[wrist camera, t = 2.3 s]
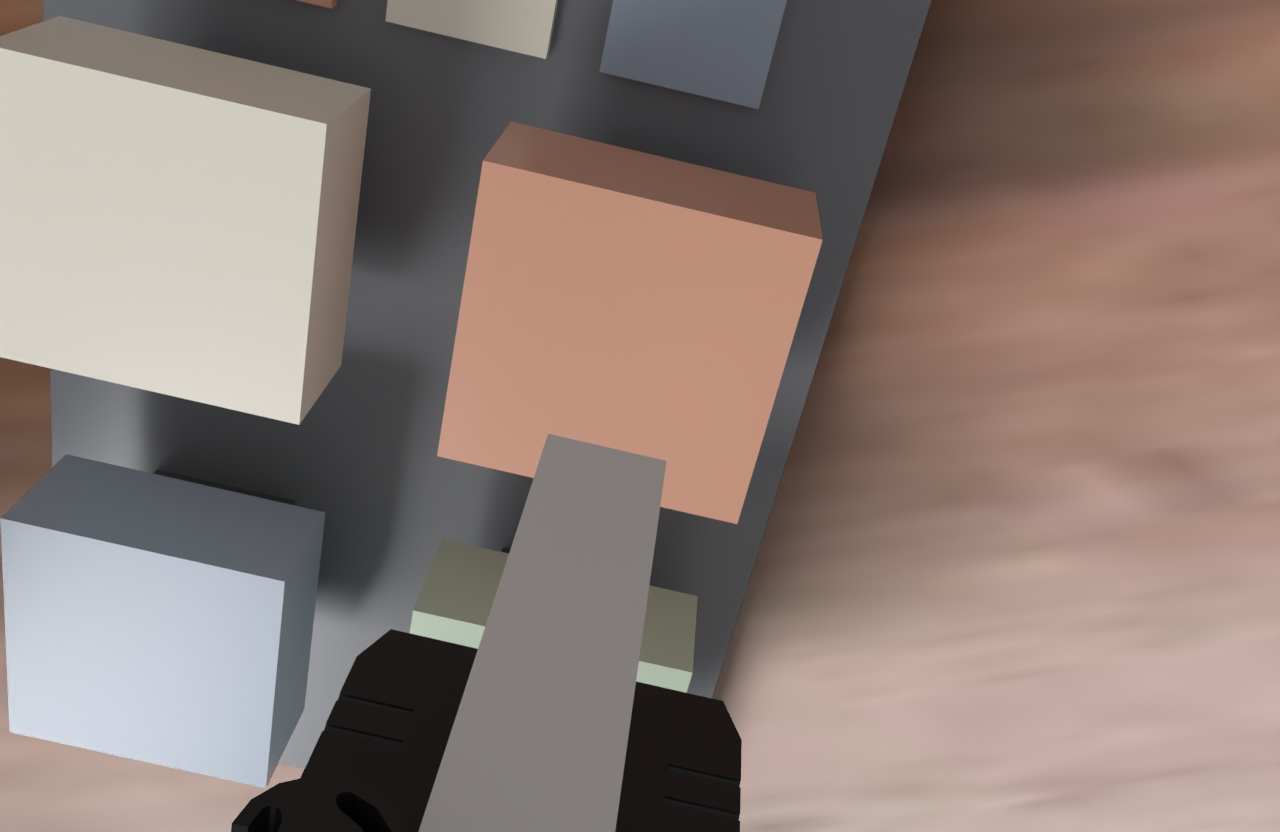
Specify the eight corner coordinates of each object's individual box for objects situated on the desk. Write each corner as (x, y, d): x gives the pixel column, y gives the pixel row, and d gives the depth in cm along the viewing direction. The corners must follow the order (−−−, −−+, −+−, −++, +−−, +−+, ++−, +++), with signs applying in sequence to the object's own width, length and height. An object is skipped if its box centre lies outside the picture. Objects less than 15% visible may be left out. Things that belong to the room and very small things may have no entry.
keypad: (75, 688, 32) (15, 770, 29) (67, -239, 22) (-28, -242, 19) (667, 818, 33) (659, 910, 30) (931, -32, 22) (955, -7, 20)
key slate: (68, 656, 28) (10, 732, 26) (66, 453, 25) (0, 518, 23) (304, 708, 28) (266, 788, 26) (325, 512, 25) (284, 581, 23)
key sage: (410, 732, 28) (381, 813, 26) (442, 538, 26) (412, 610, 23) (643, 783, 28) (633, 868, 26) (697, 596, 26) (692, 672, 23)
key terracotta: (466, 394, 24) (437, 455, 22) (511, 121, 21) (482, 160, 19) (738, 456, 24) (737, 524, 22) (815, 192, 21) (822, 239, 19)
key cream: (63, 301, 24) (-7, 355, 22) (60, 16, 21) (-21, 43, 19) (341, 365, 24) (298, 425, 22) (371, 88, 21) (327, 124, 19)
